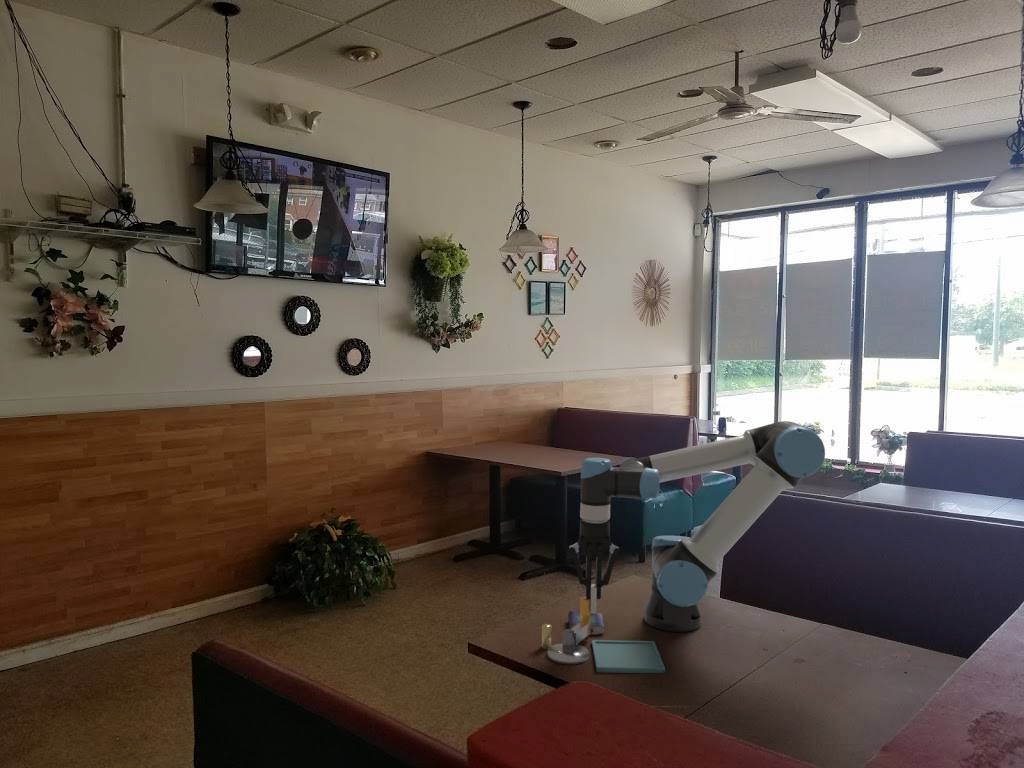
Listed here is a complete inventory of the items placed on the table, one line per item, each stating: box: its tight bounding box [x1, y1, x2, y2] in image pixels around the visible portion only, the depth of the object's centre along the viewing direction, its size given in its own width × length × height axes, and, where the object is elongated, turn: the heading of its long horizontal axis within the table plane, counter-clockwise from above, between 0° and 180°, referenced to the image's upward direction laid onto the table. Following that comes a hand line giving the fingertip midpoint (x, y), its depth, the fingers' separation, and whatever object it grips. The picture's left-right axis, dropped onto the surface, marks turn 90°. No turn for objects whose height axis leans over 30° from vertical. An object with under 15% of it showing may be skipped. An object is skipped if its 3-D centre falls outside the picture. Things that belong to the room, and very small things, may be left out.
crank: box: [572, 596, 591, 645], centre depth 185 cm, size 9×3×9 cm, turn 151°
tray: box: [591, 639, 666, 674], centre depth 178 cm, size 16×16×1 cm
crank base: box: [541, 623, 590, 665], centre depth 179 cm, size 11×11×6 cm
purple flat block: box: [567, 609, 606, 638], centre depth 195 cm, size 9×3×11 cm
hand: (592, 611), depth 188 cm, fingers closed
